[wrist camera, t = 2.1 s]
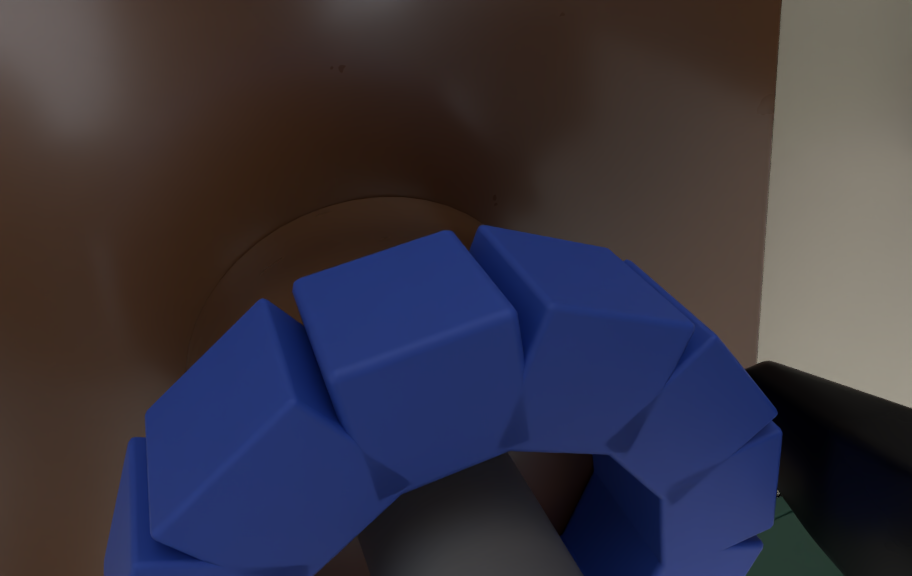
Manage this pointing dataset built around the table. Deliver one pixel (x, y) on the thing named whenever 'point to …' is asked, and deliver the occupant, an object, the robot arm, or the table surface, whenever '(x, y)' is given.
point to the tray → (790, 549)
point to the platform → (344, 213)
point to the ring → (453, 415)
